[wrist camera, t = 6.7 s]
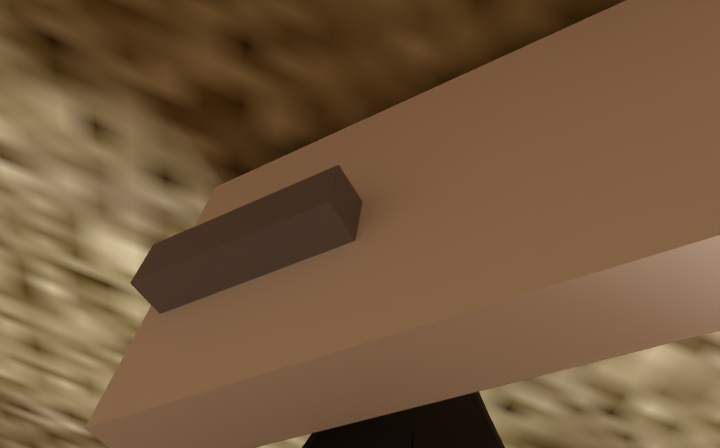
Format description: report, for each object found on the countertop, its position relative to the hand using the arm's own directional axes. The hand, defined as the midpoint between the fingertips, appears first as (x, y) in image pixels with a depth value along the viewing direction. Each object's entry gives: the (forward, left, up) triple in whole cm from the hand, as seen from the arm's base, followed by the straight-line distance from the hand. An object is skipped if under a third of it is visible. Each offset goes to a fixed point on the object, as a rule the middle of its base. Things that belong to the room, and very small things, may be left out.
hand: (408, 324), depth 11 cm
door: (+4, -1, -1) cm, 5 cm away
